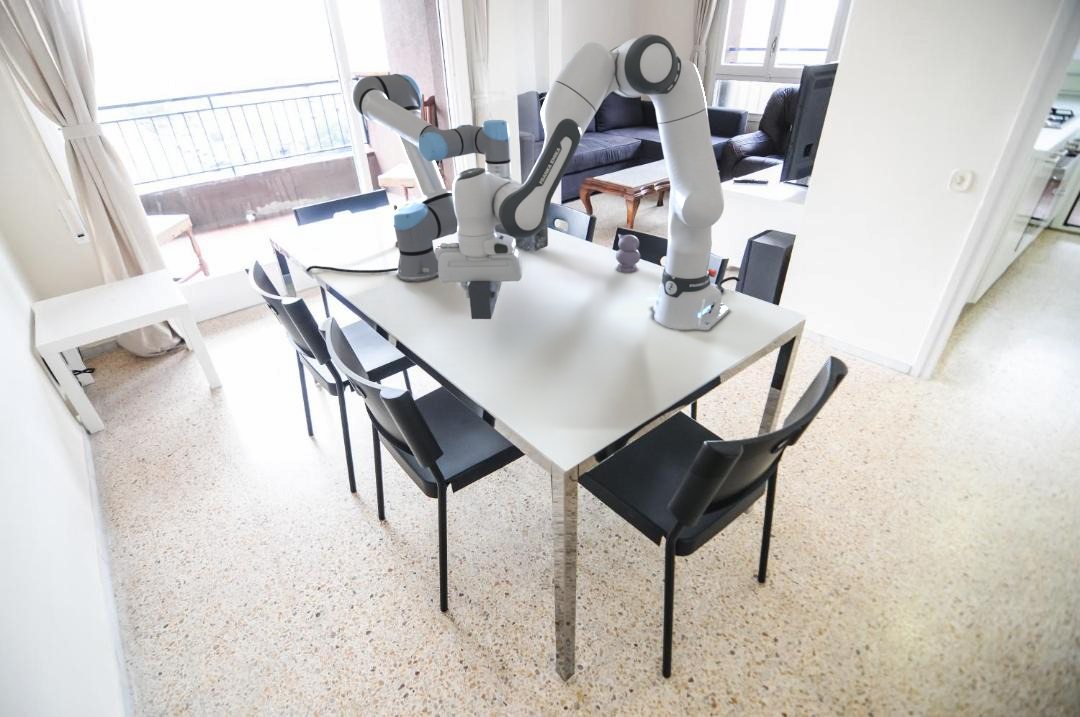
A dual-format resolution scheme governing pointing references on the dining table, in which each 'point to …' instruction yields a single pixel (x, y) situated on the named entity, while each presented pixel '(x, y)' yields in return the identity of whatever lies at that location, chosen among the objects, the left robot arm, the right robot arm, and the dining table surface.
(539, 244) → the concrete block
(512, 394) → the dining table surface
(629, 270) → the cat figurine
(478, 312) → the beam
